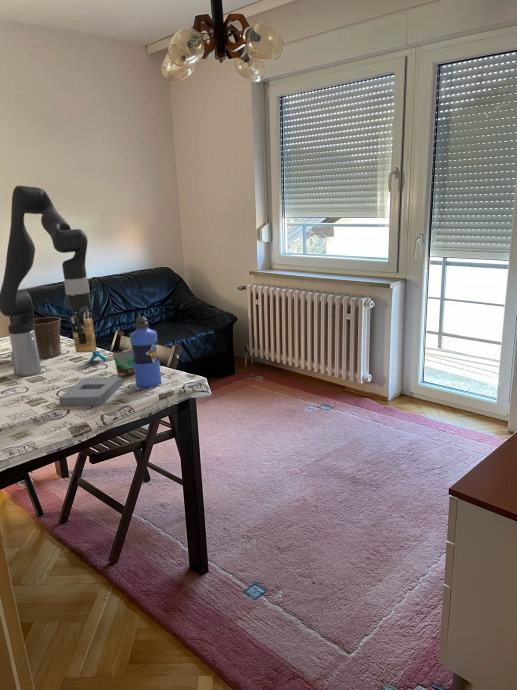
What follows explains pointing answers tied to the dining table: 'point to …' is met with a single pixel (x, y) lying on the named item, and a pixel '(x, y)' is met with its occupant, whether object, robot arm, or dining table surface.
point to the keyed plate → (90, 391)
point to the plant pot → (47, 336)
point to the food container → (124, 363)
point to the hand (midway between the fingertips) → (85, 342)
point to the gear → (96, 356)
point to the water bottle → (145, 355)
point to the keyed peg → (90, 338)
